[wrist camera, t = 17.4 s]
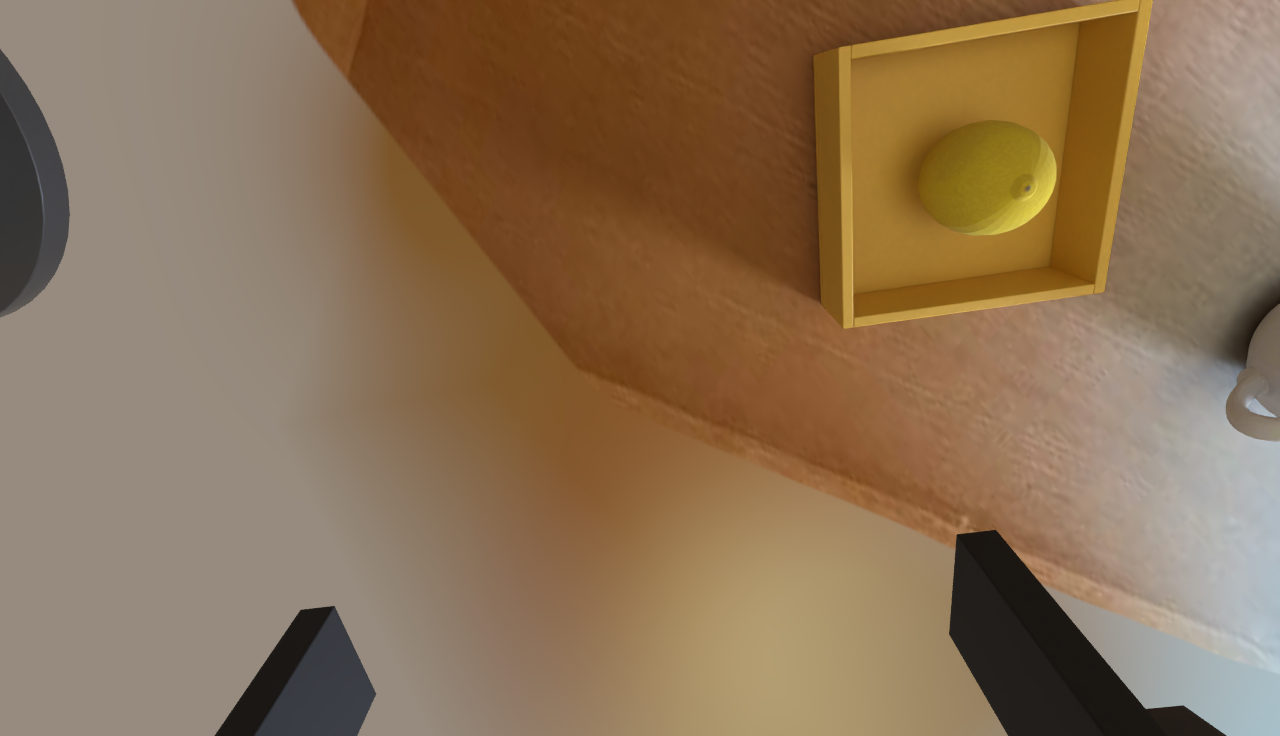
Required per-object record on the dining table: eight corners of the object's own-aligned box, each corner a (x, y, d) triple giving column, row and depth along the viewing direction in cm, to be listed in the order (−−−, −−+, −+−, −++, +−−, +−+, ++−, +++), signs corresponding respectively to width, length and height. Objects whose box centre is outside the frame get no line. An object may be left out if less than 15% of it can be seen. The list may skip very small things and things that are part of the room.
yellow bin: (820, 304, 38) (842, 329, 33) (812, 55, 32) (838, 47, 28) (1052, 271, 37) (1104, 292, 33) (1085, 9, 31) (1154, -7, 27)
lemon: (962, 96, 32) (1057, 92, 25) (1012, 174, 34) (1115, 193, 27) (876, 168, 34) (941, 185, 26) (928, 240, 35) (1003, 274, 28)
